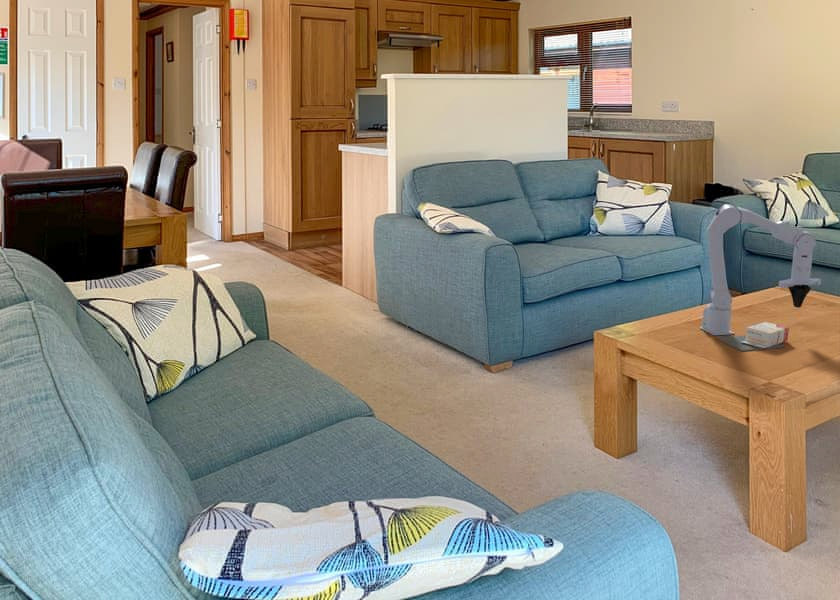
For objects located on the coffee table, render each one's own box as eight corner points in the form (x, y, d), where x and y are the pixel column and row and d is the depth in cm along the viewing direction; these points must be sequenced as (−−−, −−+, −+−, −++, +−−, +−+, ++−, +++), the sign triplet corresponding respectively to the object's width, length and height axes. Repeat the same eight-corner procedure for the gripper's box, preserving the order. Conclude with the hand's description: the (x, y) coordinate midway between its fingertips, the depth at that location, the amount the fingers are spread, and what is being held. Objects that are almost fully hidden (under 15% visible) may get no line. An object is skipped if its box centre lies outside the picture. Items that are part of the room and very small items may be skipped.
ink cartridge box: (789, 326, 255) (765, 334, 246) (787, 340, 256) (763, 349, 248) (765, 320, 261) (740, 328, 253) (763, 334, 263) (739, 343, 254)
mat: (716, 338, 261) (716, 337, 261) (757, 335, 264) (757, 334, 263) (741, 351, 247) (741, 350, 247) (783, 347, 250) (784, 346, 250)
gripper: (790, 271, 251) (785, 311, 254) (829, 268, 253) (824, 308, 257) (776, 266, 257) (772, 306, 261) (814, 264, 260) (810, 303, 264)
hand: (797, 306), depth 259 cm, fingers closed
